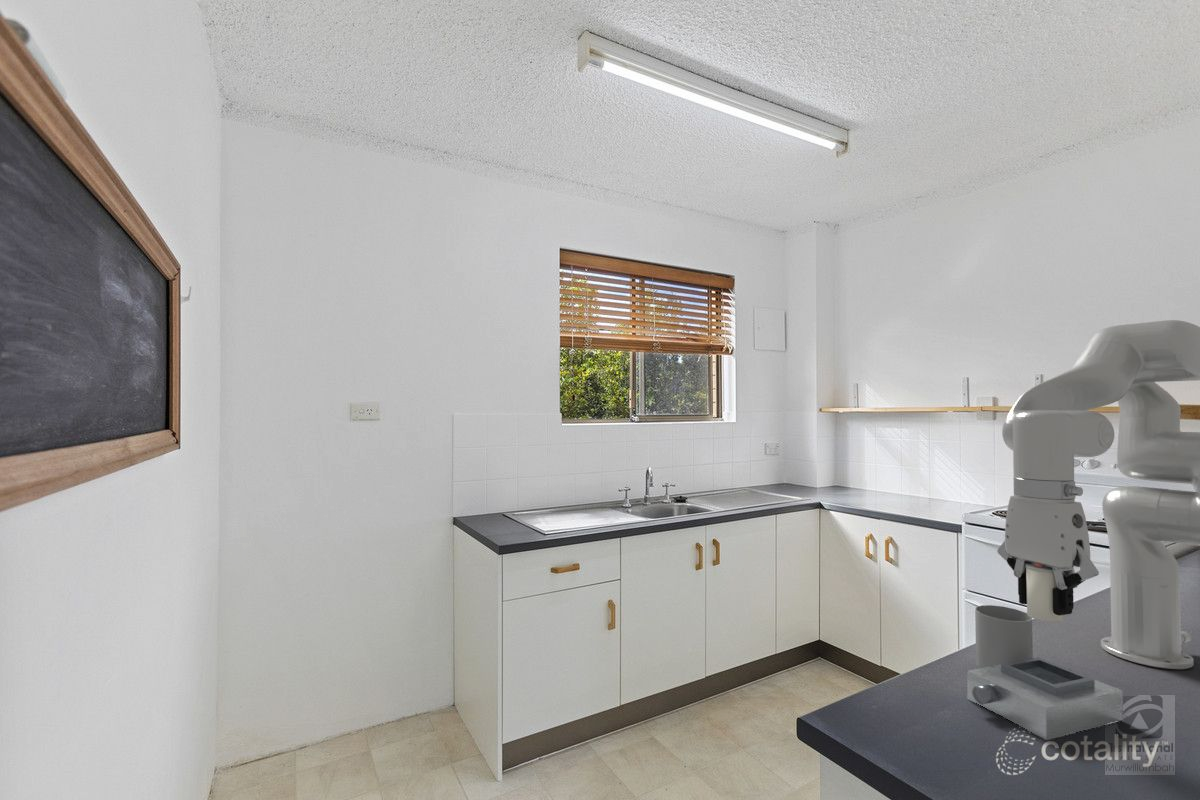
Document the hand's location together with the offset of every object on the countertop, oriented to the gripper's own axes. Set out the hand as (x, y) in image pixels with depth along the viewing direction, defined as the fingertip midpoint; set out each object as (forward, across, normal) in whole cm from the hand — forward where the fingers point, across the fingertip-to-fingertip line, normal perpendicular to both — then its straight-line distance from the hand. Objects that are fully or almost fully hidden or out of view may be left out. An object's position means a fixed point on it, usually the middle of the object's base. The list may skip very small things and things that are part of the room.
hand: (1044, 607), depth 88 cm
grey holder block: (+16, 0, +2) cm, 16 cm away
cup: (+16, +12, -7) cm, 21 cm away
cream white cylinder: (+2, 0, 0) cm, 2 cm away
